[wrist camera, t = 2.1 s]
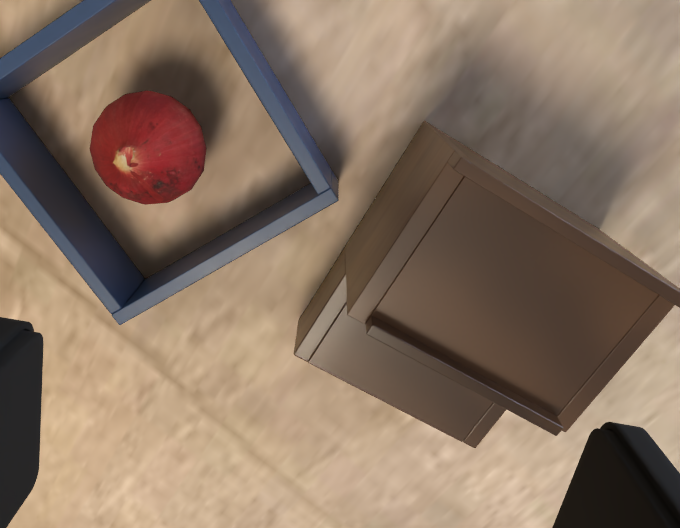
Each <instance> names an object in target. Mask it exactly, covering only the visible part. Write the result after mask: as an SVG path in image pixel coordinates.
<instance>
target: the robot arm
mask: <svg viewBox="0 0 680 528" xmlns="http://www.w3.org/2000/svg"><path fill="white" fill-rule="evenodd" d="M42 366H43V337H42V335H41V334H40V333H37V332H34V329H33V326H32V324H31V323H30V322H25V321H19V320H14V319H8V318H2V317H0V528H6V527H7V526H8V524H9V523H10V521H11V520H12V518H13V517H14V516H15V514H16V513H17V511H18V510H19V508H20V507H21V505H22V504H23V502H24V501H25V499H26V498H27V497H28V495H29V494H30V492H31V490H32V489H33V486H34V484H35V482H36V479H37V475H38V470H39V451H40V422H41V394H42ZM553 528H680V473H679V472H678V471H677V469H676V468H675V467H674V466H673V464H672V463H671V462H670V461H669V459H668V458H667V457H666V456H665V454H664V453H663V452H662V451H661V449H660V448H659V447H658V445H657V444H656V443H655V442H654V440H653V439H652V438H651V437H650V435H649V434H648V433H647V432H646V431H645V430H644V429H643V428H640V427H636V426H630V425H624V424H618V423H612V422H607V423H605V424H604V425H603V426H602V427H601V428H600V429H598V428H597V429H594V430H593V431H592V432H591V434H590V436H589V438H588V440H587V443H586V445H585V448H584V450H583V453H582V455H581V458H580V460H579V463H578V465H577V468H576V470H575V473H574V475H573V478H572V480H571V483H570V485H569V488H568V490H567V493H566V495H565V498H564V500H563V503H562V505H561V508H560V510H559V513H558V515H557V518H556V520H555V523H554V525H553Z"/></svg>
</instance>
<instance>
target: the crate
mask: <svg viewBox="0 0 680 528" xmlns="http://www.w3.org/2000/svg"><path fill="white" fill-rule="evenodd" d="M149 1H151V0H83V1H82V2H80V3H79V4H78V5H76V6H75V7H73V8H72V9H70V10H69V11H67V12H66V13H65V14H63V15H62V16H60V17H59V18H57V19H56V20H55V21H53V22H52V23H50V24H49V25H47V26H46V27H45V28H43V29H42V30H40V31H39V32H37V33H36V34H34V35H33V36H32V37H30V38H29V39H27V40H26V41H24V42H23V43H22V44H20V45H19V46H17V47H16V48H14V49H13V50H12V51H10V52H9V53H7V54H6V55H4V56H3V57H1V58H0V174H1V175H2V176H3V178H4V179H5V180H6V182H7V183H8V184H9V185H10V187H11V188H12V189H13V190H14V192H15V193H16V194H17V195H18V197H19V198H20V199H21V201H22V202H23V203H24V204H25V206H26V207H27V208H28V209H29V211H30V212H31V213H32V214H33V216H34V217H35V218H36V220H37V221H38V222H39V223H40V225H41V226H42V227H43V228H44V230H45V231H46V232H47V233H48V235H49V236H50V237H51V239H52V240H53V241H54V242H55V244H56V245H57V246H58V247H59V249H60V250H61V251H62V253H63V254H64V255H65V256H66V258H67V259H68V260H69V261H70V263H71V264H72V265H73V266H74V268H75V269H76V270H77V272H78V273H79V274H80V275H81V277H82V278H83V279H84V280H85V282H86V283H87V284H88V285H89V287H90V288H91V289H92V291H93V292H94V293H95V294H96V296H97V297H98V298H99V299H100V301H101V302H102V303H103V304H104V306H105V307H106V308H107V310H108V311H109V312H110V313H111V314H112V316H113V318H114V319H115V320H116V321H117V323H118V324H119V325H121V324H123V323H125V322H126V321H128V320H130V319H132V318H134V317H135V316H137V315H139V314H141V313H142V312H144V311H146V310H148V309H149V308H151V307H153V306H155V305H156V304H158V303H160V302H162V301H163V300H165V299H167V298H169V297H170V296H172V295H174V294H176V293H177V292H179V291H181V290H183V289H184V288H186V287H188V286H190V285H191V284H193V283H195V282H197V281H198V280H200V279H202V278H204V277H205V276H207V275H209V274H211V273H212V272H214V271H216V270H218V269H219V268H221V267H223V266H225V265H226V264H228V263H230V262H232V261H233V260H235V259H237V258H239V257H240V256H242V255H244V254H246V253H247V252H249V251H251V250H253V249H254V248H256V247H258V246H260V245H261V244H263V243H265V242H267V241H268V240H270V239H272V238H274V237H275V236H277V235H279V234H281V233H282V232H284V231H286V230H288V229H289V228H291V227H293V226H295V225H296V224H298V223H300V222H302V221H303V220H305V219H307V218H309V217H310V216H312V215H314V214H316V213H317V212H319V211H321V210H323V209H324V208H326V207H328V206H330V205H331V204H333V203H335V202H337V201H338V180H337V178H336V176H335V175H334V173H333V171H331V168H330V166H329V165H328V163H327V161H326V160H325V158H324V156H323V155H322V153H321V151H320V150H319V148H318V146H317V145H316V143H315V141H314V140H313V138H312V136H311V135H310V133H309V131H308V130H307V128H306V126H305V125H304V123H303V121H302V119H301V118H300V116H299V114H298V113H297V111H296V109H295V108H294V106H293V104H292V103H291V101H290V99H289V98H288V96H287V94H286V93H285V91H284V89H283V88H282V86H281V84H280V83H279V81H278V79H277V78H276V76H275V74H274V72H273V71H272V69H271V67H270V66H269V64H268V62H267V61H266V59H265V57H264V56H263V54H262V52H261V51H260V49H259V47H258V46H257V44H256V42H255V41H254V39H253V37H252V36H251V34H250V32H249V31H248V29H247V27H246V25H245V24H244V22H243V20H242V19H241V17H240V15H239V14H238V12H237V10H236V9H235V7H234V5H233V4H232V2H231V0H199V1H200V3H201V4H202V6H203V8H204V9H205V11H206V13H207V14H208V16H209V18H210V19H211V21H212V22H213V24H214V26H215V27H216V29H217V31H218V32H219V34H220V35H221V37H222V39H223V40H224V42H225V44H226V45H227V47H228V49H229V50H230V52H231V53H232V55H233V57H234V58H235V60H236V62H237V63H238V65H239V66H240V68H241V70H242V71H243V73H244V75H245V76H246V78H247V80H248V81H249V83H250V84H251V86H252V88H253V89H254V91H255V93H256V94H257V96H258V97H259V99H260V101H261V102H262V104H263V106H264V107H265V109H266V111H267V112H268V114H269V115H270V117H271V119H272V120H273V122H274V124H275V125H276V127H277V129H278V130H279V132H280V133H281V135H282V137H283V138H284V140H285V142H286V143H287V145H288V146H289V148H290V150H291V151H292V153H293V155H294V156H295V158H296V160H297V161H298V163H299V164H300V166H301V168H302V169H303V171H304V173H305V174H306V176H307V177H308V179H309V181H310V182H311V183H310V184H308V185H307V186H305V187H303V188H301V189H300V190H298V191H296V192H295V193H293V194H291V195H289V196H288V197H286V198H284V199H283V200H281V201H279V202H277V203H276V204H274V205H272V206H270V207H269V208H267V209H265V210H264V211H262V212H260V213H258V214H257V215H255V216H253V217H252V218H250V219H248V220H246V221H245V222H243V223H241V224H240V225H238V226H236V227H234V228H233V229H231V230H229V231H228V232H226V233H224V234H222V235H221V236H219V237H217V238H216V239H214V240H212V241H210V242H209V243H207V244H205V245H203V246H202V247H200V248H198V249H197V250H195V251H193V252H191V253H190V254H188V255H186V256H185V257H183V258H181V259H179V260H178V261H176V262H174V263H173V264H171V265H169V266H167V267H166V268H164V269H162V270H161V271H159V272H157V273H155V274H154V275H152V276H150V277H149V278H147V279H144V277H143V276H142V274H141V273H140V272H139V270H138V269H137V268H136V266H135V265H134V264H133V262H132V261H131V260H130V258H129V257H128V256H127V254H126V253H125V252H124V250H123V249H122V248H121V246H120V245H119V244H118V242H117V241H116V240H115V239H114V237H113V236H112V235H111V233H110V232H109V231H108V229H107V228H106V227H105V225H104V224H103V223H102V221H101V220H100V219H99V217H98V216H97V215H96V213H95V212H94V211H93V209H92V208H91V207H90V205H89V204H88V203H87V201H86V200H85V199H84V197H83V196H82V195H81V193H80V192H79V191H78V189H77V188H76V187H75V185H74V184H73V183H72V181H71V180H70V179H69V177H68V176H67V175H66V173H65V172H64V171H63V169H62V168H61V167H60V165H59V164H58V163H57V161H56V160H55V159H54V157H53V156H52V155H51V153H50V152H49V151H48V149H47V148H46V147H45V145H44V144H43V143H42V141H41V140H40V139H39V137H38V136H37V135H36V133H35V132H34V131H33V129H32V128H31V127H30V125H29V124H28V123H27V121H26V120H25V119H24V117H23V116H22V115H21V113H20V112H19V111H18V109H17V108H16V107H15V105H14V104H13V103H12V101H11V100H10V99H9V98H8V97H10V96H11V95H13V94H14V93H16V92H17V91H18V90H20V89H21V88H23V87H24V86H26V85H27V84H29V83H30V82H32V81H33V80H35V79H36V78H38V77H39V76H41V75H42V74H43V73H45V72H46V71H48V70H49V69H51V68H52V67H54V66H55V65H57V64H58V63H60V62H61V61H63V60H64V59H66V58H67V57H68V56H70V55H71V54H73V53H74V52H76V51H77V50H79V49H80V48H82V47H83V46H85V45H86V44H88V43H89V42H91V41H92V40H93V39H95V38H96V37H98V36H99V35H101V34H102V33H104V32H105V31H107V30H108V29H110V28H111V27H113V26H114V25H115V24H117V23H118V22H120V21H121V20H123V19H124V18H126V17H127V16H129V15H130V14H132V13H133V12H135V11H136V10H138V9H139V8H140V7H142V6H143V5H145V4H146V3H148V2H149Z"/></svg>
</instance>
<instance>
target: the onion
mask: <svg viewBox="0 0 680 528" xmlns="http://www.w3.org/2000/svg"><path fill="white" fill-rule="evenodd" d="M90 152H91V156H92V159H93V163H94V167H95V170H96V171H97V173H98V174H99V176H100V177H101V178H102V180H103V181H104V183H105V184H106V186H108V187H109V188H110V189H112V190H113V191H114V192H116V193H117V194H119V195H120V196H121V197H123V198H126V199H129V200H132V201H135V202H138V203H141V204H156V203H167V202H170V201H173V200H174V199H176V198H178V197H179V196H181V195H183V194H185V193H186V192H188V191H190V190H191V189H192V188H193V186H194V185H195V183H196V182H197V180H198V179H199V177H200V176H201V174H202V172H203V171H204V163H205V155H206V145H205V141H204V137H203V133H202V129H201V126H200V124H199V123H198V121H197V120H196V118H195V117H194V115H193V114H192V112H191V111H190V109H188V108H187V107H186V106H184V105H183V104H181V103H180V102H179V101H177V100H176V99H174V98H173V97H171V96H167V95H164V94H160V93H157V92H153V91H141V92H135V93H129V94H125V95H123V96H122V97H120V98H119V99H117V100H115V101H114V102H112V103H111V104H109V105H108V106H107V107H106V108H105V109H104V110H103V112H102V113H101V115H100V116H99V118H98V120H97V121H96V123H95V124H94V126H93V131H92V138H91V144H90Z"/></svg>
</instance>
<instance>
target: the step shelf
mask: <svg viewBox="0 0 680 528" xmlns="http://www.w3.org/2000/svg"><path fill="white" fill-rule="evenodd" d="M674 305H676V306H678V307H679V308H680V288H678V287H677V286H676V285H674V284H673V283H671V282H670V281H669V280H667V279H666V278H665V277H663V276H662V275H661V274H659V273H658V272H657V271H655V270H654V269H652V268H651V267H650V266H648V265H647V264H646V263H644V262H643V261H642V260H640V259H639V258H638V257H636V256H635V255H633V254H632V253H631V252H629V251H628V250H627V249H625V248H624V247H623V246H621V245H620V244H619V243H617V242H616V241H614V240H613V239H612V238H610V237H609V236H608V235H606V234H605V233H604V232H602V231H601V230H600V229H598V228H596V227H595V226H593V225H592V224H590V223H588V222H587V221H585V220H584V219H582V218H580V217H579V216H577V215H576V214H574V213H572V212H571V211H569V210H567V209H566V208H564V207H563V206H561V205H559V204H558V203H556V202H555V201H553V200H551V199H550V198H548V197H547V196H545V195H543V194H542V193H540V192H539V191H537V190H535V189H534V188H532V187H530V186H529V185H527V184H526V183H524V182H522V181H521V180H519V179H518V178H516V177H514V176H513V175H511V174H510V173H508V172H506V171H505V170H503V169H501V168H500V167H498V166H497V165H495V164H493V163H492V162H490V161H489V160H487V159H485V158H484V157H482V156H481V155H479V154H477V153H476V152H474V151H473V150H471V149H469V148H468V147H466V146H464V145H463V144H461V143H460V142H458V141H456V140H455V139H453V138H452V137H450V136H448V135H447V134H445V133H444V132H442V131H440V130H438V129H437V128H436V127H434V126H432V125H431V124H429V123H428V122H426V121H424V122H423V123H422V125H421V127H420V128H419V130H418V131H417V133H416V135H415V136H414V138H413V139H412V141H411V142H410V144H409V146H408V147H407V149H406V150H405V152H404V154H403V155H402V157H401V158H400V160H399V162H398V163H397V165H396V166H395V168H394V170H393V171H392V173H391V174H390V176H389V178H388V179H387V181H386V182H385V184H384V185H383V187H382V189H381V190H380V192H379V193H378V195H377V197H376V198H375V200H374V201H373V203H372V205H371V206H370V208H369V209H368V211H367V213H366V214H365V216H364V217H363V219H362V220H361V222H360V224H359V225H358V227H357V228H356V230H355V232H354V233H353V235H352V236H351V238H350V240H349V241H348V243H347V244H346V246H345V248H344V249H343V251H342V253H341V254H340V256H339V257H338V259H337V260H336V262H335V264H334V265H333V267H332V268H331V270H330V272H329V273H328V275H327V276H326V278H325V280H324V281H323V283H322V284H321V286H320V288H319V289H318V291H317V292H316V294H315V295H314V297H313V299H312V300H311V302H310V303H309V305H308V307H307V308H306V310H305V311H304V313H303V315H302V316H301V318H300V319H299V321H298V328H297V335H296V342H295V349H294V355H295V356H297V357H299V358H301V359H303V360H305V361H307V362H308V363H310V364H312V365H314V366H316V367H318V368H320V369H322V370H324V371H326V372H328V373H329V374H331V375H333V376H335V377H337V378H339V379H341V380H343V381H345V382H347V383H349V384H351V385H353V386H355V387H357V388H359V389H361V390H362V391H364V392H366V393H368V394H370V395H372V396H374V397H376V398H378V399H380V400H382V401H384V402H386V403H388V404H390V405H392V406H393V407H395V408H397V409H399V410H401V411H403V412H405V413H407V414H409V415H411V416H413V417H415V418H417V419H419V420H421V421H423V422H425V423H426V424H428V425H430V426H432V427H434V428H436V429H438V430H440V431H442V432H444V433H446V434H448V435H450V436H452V437H454V438H456V439H457V440H459V441H461V442H462V441H463V442H464V443H466V444H468V445H470V446H472V447H474V448H476V447H477V445H478V444H479V443H480V442H481V440H482V439H483V438H484V437H485V435H486V434H487V433H488V432H489V430H490V429H491V428H492V427H493V425H494V424H495V423H496V422H497V421H498V419H499V418H500V417H501V416H502V414H503V413H504V412H505V411H506V409H507V410H509V411H511V412H513V413H514V414H516V415H518V416H520V417H522V418H524V419H526V420H527V421H529V422H531V423H533V424H535V425H537V426H539V427H541V428H542V429H544V430H546V431H548V432H550V433H552V434H554V435H555V436H557V435H558V434H559V433H560V431H561V430H562V431H564V432H566V431H567V430H568V429H569V428H570V427H571V425H572V424H573V423H574V422H575V421H576V420H577V418H578V417H579V416H580V415H581V414H582V413H583V411H584V410H585V409H586V408H587V407H588V406H589V404H590V403H591V402H592V401H593V400H594V399H595V397H596V396H597V395H598V394H599V393H600V392H601V390H602V389H603V388H604V387H605V386H606V385H607V383H608V382H609V381H610V380H611V379H612V378H613V376H614V375H615V374H616V373H617V372H618V371H619V369H620V368H621V367H622V366H623V365H624V364H625V362H626V361H627V360H628V359H629V358H630V357H631V355H632V354H633V353H634V352H635V351H636V350H637V348H638V347H639V346H640V345H641V344H642V343H643V341H644V340H645V339H646V338H647V337H648V336H649V334H650V333H651V332H652V331H653V330H654V329H655V327H656V326H657V325H658V324H659V323H660V322H661V320H662V319H663V318H664V317H665V316H666V315H667V313H668V312H669V311H670V310H671V309H672V308H673V306H674Z"/></svg>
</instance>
